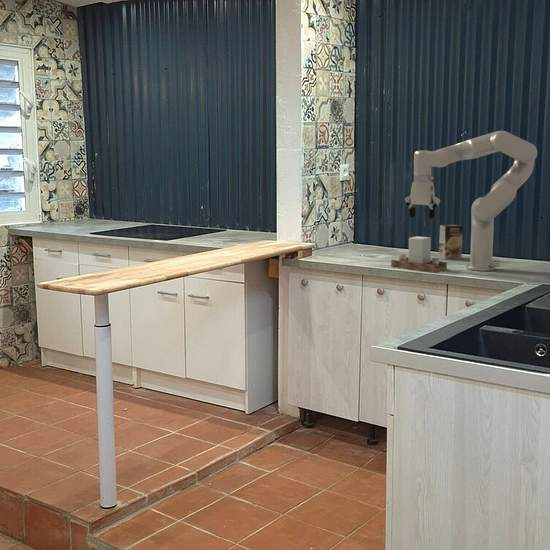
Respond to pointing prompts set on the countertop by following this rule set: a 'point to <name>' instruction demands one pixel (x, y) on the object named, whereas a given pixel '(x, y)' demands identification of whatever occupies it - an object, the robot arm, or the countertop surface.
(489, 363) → the countertop surface
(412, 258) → the supplement box
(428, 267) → the brown textured block
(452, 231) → the coffee box
